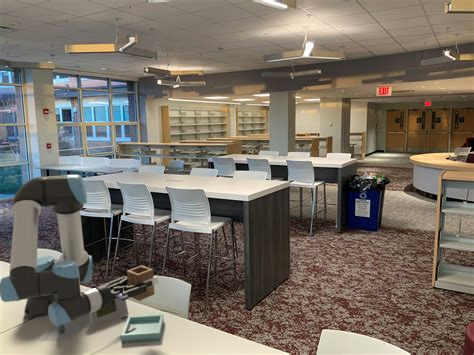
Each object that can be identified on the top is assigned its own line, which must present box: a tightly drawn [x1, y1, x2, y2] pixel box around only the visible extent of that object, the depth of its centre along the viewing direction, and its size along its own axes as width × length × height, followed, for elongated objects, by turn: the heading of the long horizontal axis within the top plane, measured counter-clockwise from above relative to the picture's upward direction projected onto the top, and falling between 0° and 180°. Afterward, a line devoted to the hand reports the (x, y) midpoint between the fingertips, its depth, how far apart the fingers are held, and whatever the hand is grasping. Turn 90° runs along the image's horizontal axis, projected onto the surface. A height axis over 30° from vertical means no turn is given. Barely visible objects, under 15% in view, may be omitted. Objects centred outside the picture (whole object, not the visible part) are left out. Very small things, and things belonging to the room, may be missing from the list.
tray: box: [120, 313, 165, 344], centre depth 147 cm, size 14×14×3 cm
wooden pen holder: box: [126, 265, 155, 302], centre depth 144 cm, size 7×7×10 cm
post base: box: [41, 323, 82, 342], centre depth 145 cm, size 11×11×10 cm
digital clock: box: [87, 298, 129, 327], centre depth 156 cm, size 16×9×11 cm, turn 120°
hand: (151, 277), depth 148 cm, fingers closed on wooden pen holder, 7 cm apart
